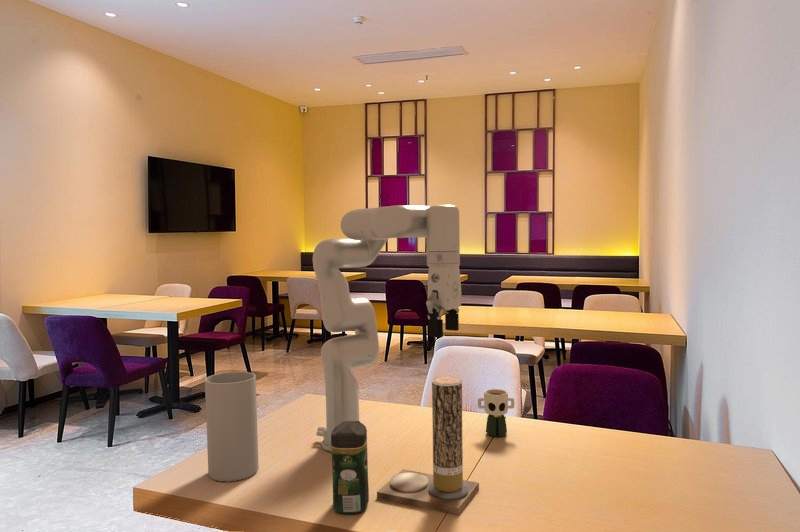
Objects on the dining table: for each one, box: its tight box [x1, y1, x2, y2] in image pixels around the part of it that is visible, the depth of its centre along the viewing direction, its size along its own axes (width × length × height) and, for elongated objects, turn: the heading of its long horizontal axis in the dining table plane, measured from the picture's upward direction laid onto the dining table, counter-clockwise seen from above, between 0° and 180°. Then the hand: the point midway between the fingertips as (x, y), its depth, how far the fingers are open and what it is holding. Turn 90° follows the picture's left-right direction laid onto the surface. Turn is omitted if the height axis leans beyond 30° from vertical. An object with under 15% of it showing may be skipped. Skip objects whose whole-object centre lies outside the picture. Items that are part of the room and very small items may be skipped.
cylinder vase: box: [204, 371, 260, 482], centre depth 149 cm, size 12×12×25 cm
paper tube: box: [431, 375, 464, 492], centre depth 133 cm, size 7×7×25 cm
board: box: [376, 468, 480, 516], centre depth 135 cm, size 20×14×2 cm
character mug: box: [477, 388, 515, 437], centre depth 174 cm, size 11×7×13 cm, turn 86°
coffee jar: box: [330, 420, 370, 515], centre depth 129 cm, size 10×8×19 cm
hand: (444, 333), depth 133 cm, fingers open, 9 cm apart
